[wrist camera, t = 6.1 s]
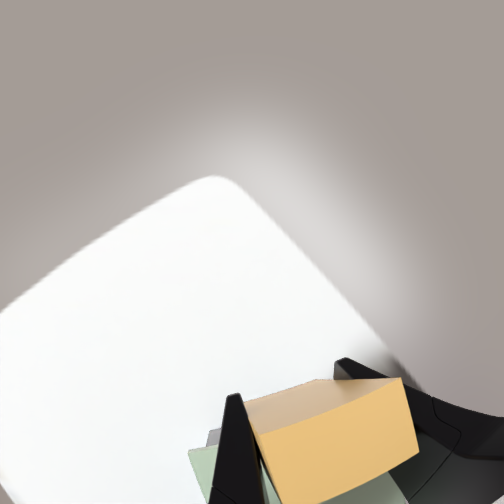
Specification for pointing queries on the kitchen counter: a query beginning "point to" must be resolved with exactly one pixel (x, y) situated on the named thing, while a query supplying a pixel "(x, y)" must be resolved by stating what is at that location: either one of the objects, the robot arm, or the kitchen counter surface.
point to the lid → (327, 442)
